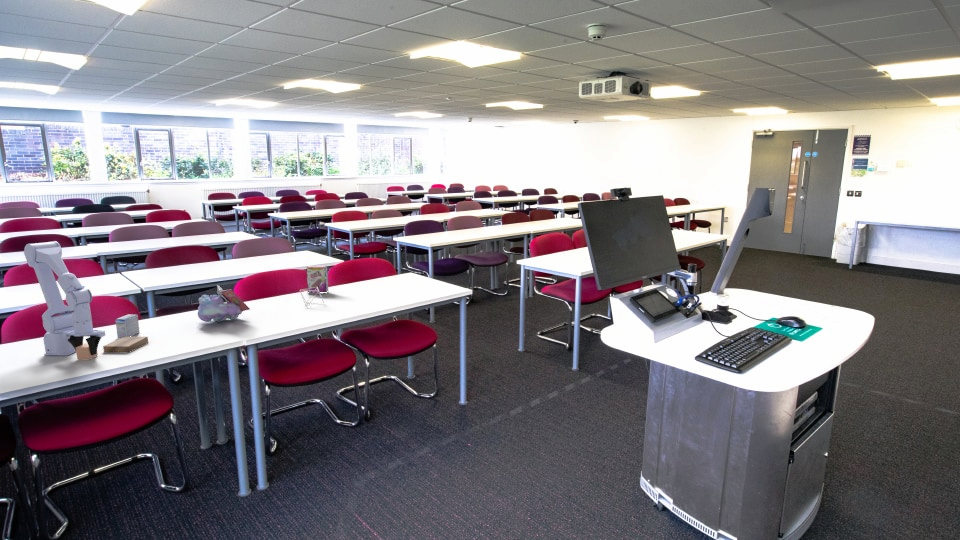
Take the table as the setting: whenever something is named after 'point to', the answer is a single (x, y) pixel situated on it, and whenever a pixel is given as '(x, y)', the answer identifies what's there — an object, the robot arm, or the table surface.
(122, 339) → the walnut block
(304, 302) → the geometric polyhedron
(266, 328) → the table surface
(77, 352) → the terracotta block
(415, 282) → the table surface
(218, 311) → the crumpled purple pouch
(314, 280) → the candy bar box
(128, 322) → the medicine box
